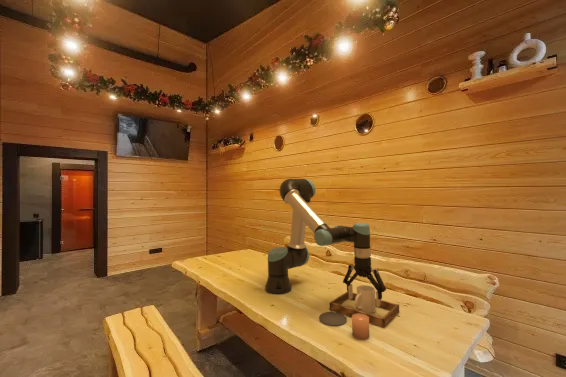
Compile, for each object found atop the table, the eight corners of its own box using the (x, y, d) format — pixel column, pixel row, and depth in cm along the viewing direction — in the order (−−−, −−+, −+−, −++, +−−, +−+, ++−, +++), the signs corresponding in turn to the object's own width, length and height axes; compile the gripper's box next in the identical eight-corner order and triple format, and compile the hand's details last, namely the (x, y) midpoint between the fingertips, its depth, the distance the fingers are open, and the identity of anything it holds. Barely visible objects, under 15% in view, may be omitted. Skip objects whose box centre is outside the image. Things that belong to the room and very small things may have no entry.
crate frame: (329, 309, 124) (329, 302, 124) (347, 297, 138) (347, 291, 138) (384, 328, 107) (384, 319, 107) (399, 312, 120) (399, 304, 120)
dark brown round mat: (313, 320, 114) (313, 318, 115) (328, 310, 123) (328, 309, 123) (337, 329, 106) (337, 327, 106) (351, 318, 115) (351, 317, 115)
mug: (362, 318, 115) (362, 294, 115) (348, 311, 122) (347, 289, 122) (379, 310, 122) (378, 288, 122) (364, 304, 129) (364, 283, 129)
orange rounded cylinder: (349, 335, 102) (348, 317, 102) (356, 329, 106) (356, 311, 107) (365, 341, 97) (364, 322, 98) (372, 334, 102) (371, 316, 102)
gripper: (335, 254, 128) (336, 298, 128) (386, 262, 111) (388, 312, 111) (342, 251, 134) (344, 293, 133) (392, 258, 117) (394, 306, 116)
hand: (364, 302), depth 122 cm, fingers open, 13 cm apart
